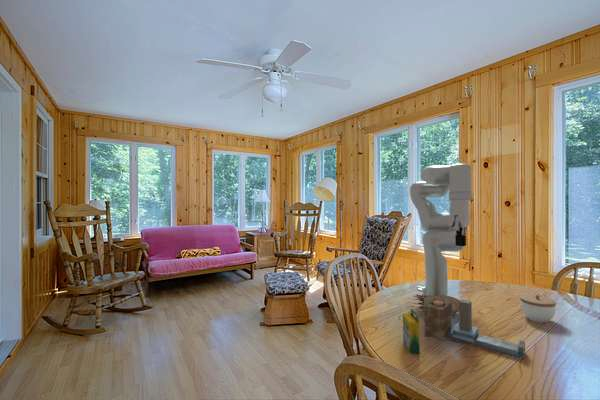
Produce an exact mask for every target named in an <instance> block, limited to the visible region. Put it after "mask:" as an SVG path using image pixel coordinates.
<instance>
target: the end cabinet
mask: <svg viewBox="0 0 600 400" xmlns="http://www.w3.org/2000/svg"><path fill="white" fill-rule="evenodd" d="M435 300H437V301H442V302H443V307H440V306H436V305H433V301H435ZM423 314H424V315H423V316H424V336H427V337H430V338H433V339H438V340H441V341H444V340H445V339H447V338H446V331H447V330H448V328H449V327H452V328H453V314H452V302H449V301H444V300H439V299H433V300H431V301H430V302H429V303H428V304H426V305H425V306H424V310H423Z"/></svg>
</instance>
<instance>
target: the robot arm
mask: <svg viewBox="0 0 600 400" xmlns="http://www.w3.org/2000/svg"><path fill="white" fill-rule="evenodd" d="M420 178H421V180H422V181H417V182H413V183H412V184H411V185H410V187H409V195H410V199H411V201H412V204H413V206H414V208H416V210H417V213H418V217H419V218H418V219H419V221H420V225H421V228H422V229H423V231H425V233H424V234H423V235H422V240H421V241H422V244H423V246H422V247H423V251H424V273H425V275H424V282H425V286H421V285H417V286H416V290H417V291H418V292H422V293H421V297H423V296H429V295H446V296H450V295H449V294H448V293H449V291H448V286H449V285H448V260H447V258H446V257H445V255H443V252H460V251H462V250H463V249H464V248H465V247H466V246H467V227H468V226H470V223H471V222H470V216H471V215H470V201H471V202H472V197H473V196H472V192H473V191H472V166H471V165H470V164H468V163H454V164H451V165H429V166H426V167H424V168H422V170H421V172H420ZM447 194H448V202H449V203H450V204H449V212H438V211H437V208H436V206H435V205H434V204H433V202H431V201H430V200H429V198H430V199H431V198H435V199H436V198H443V197H445V196H446V195H447ZM423 298H424V297H423Z"/></svg>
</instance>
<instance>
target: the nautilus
mask: <svg viewBox="0 0 600 400" xmlns="http://www.w3.org/2000/svg"><path fill="white" fill-rule="evenodd" d="M412 297H413V301H414V300H415V301H419V302H417V303H415V302H413V304H415V305H418V306H412V305H409V307H410V308H413V310H416V311H417V313H419V312H420V313H421V312H423V313H424V306H425V305H426V304H428V303H429V302H430V301H431V300H433V299H439V300H444V301H449V302H452V315H453V314H457V313H459V301H460V300H461V299H458V298H456V297H453V296H451V295H449V296H446V295H429V296H423V297H424V298H423V297H422V296H421V295H419V294H415V295H412ZM406 299H407V300H408V299H410V300H412V298H409V297H408V298H406ZM407 303H408V304H410V302H407ZM406 307H408V305H406Z"/></svg>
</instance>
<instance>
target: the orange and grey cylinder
mask: <svg viewBox="0 0 600 400" xmlns="http://www.w3.org/2000/svg"><path fill="white" fill-rule="evenodd" d="M433 305H436V306H440V307H443V302H442V301H437V300H435V301H433Z"/></svg>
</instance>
